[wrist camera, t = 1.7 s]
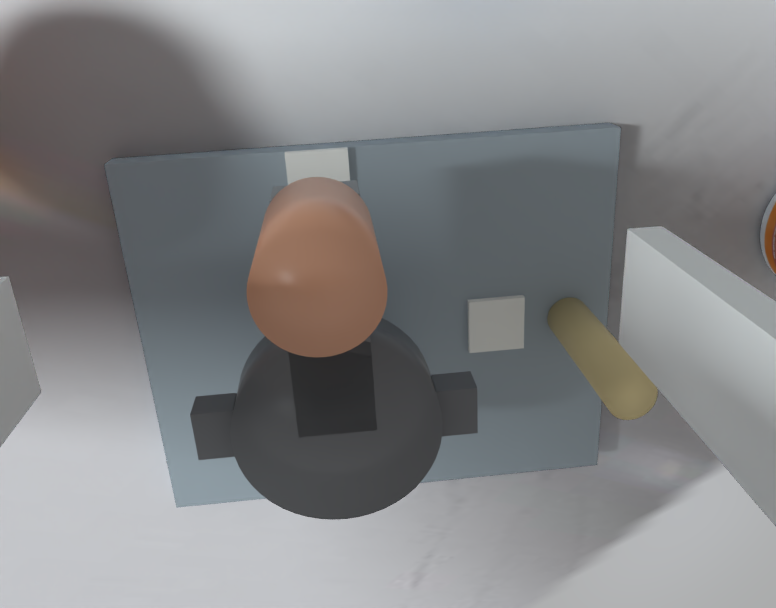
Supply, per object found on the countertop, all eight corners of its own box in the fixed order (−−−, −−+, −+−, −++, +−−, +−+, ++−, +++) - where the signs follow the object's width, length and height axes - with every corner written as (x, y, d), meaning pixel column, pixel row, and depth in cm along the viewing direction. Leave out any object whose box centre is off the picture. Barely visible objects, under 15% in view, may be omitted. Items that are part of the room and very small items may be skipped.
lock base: (181, 491, 34) (141, 628, 27) (112, 158, 28) (35, 214, 20) (588, 450, 35) (661, 570, 28) (609, 122, 29) (710, 163, 22)
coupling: (468, 464, 27) (517, 615, 21) (217, 489, 27) (182, 653, 20) (464, 149, 23) (525, 210, 16) (159, 171, 22) (87, 245, 15)
